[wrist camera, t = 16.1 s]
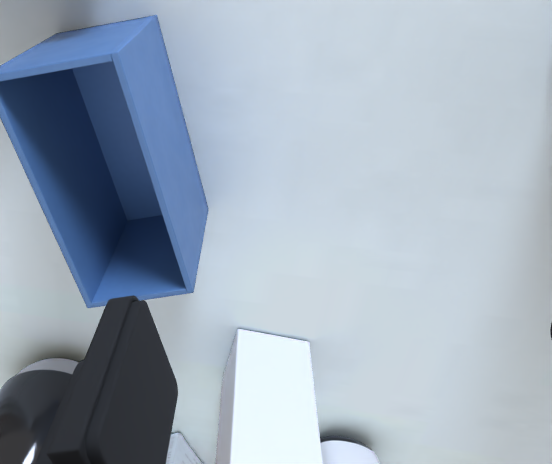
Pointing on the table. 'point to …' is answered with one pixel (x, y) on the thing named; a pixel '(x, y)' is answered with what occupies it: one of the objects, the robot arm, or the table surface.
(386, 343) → the table surface
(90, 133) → the blue bin
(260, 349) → the milk carton
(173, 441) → the cosmetic box
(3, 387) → the pump dispenser
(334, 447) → the spread jar
